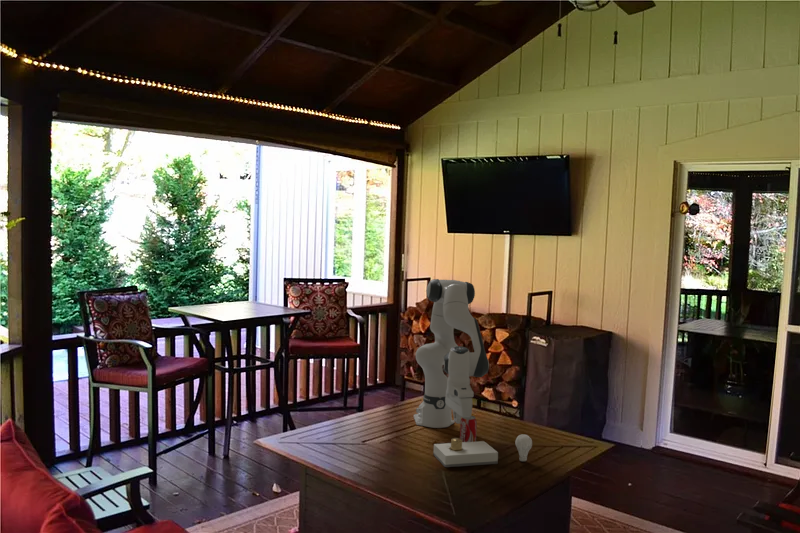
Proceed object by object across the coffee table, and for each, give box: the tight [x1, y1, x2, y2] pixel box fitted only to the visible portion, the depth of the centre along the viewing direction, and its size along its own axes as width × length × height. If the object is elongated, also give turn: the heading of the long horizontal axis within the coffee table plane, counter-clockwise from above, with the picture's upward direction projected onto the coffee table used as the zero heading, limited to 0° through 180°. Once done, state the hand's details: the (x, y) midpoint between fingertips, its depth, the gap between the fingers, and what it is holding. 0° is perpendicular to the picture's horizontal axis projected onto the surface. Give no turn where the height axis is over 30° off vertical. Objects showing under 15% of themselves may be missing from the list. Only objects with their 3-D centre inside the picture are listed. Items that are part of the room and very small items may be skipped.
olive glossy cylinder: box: [450, 437, 462, 451], centre depth 252 cm, size 4×4×7 cm
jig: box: [432, 440, 499, 468], centre depth 252 cm, size 14×22×4 cm, turn 106°
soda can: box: [459, 415, 478, 442], centre depth 271 cm, size 7×7×12 cm
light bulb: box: [514, 434, 533, 463], centre depth 252 cm, size 7×7×11 cm
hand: (457, 422), depth 251 cm, fingers closed
